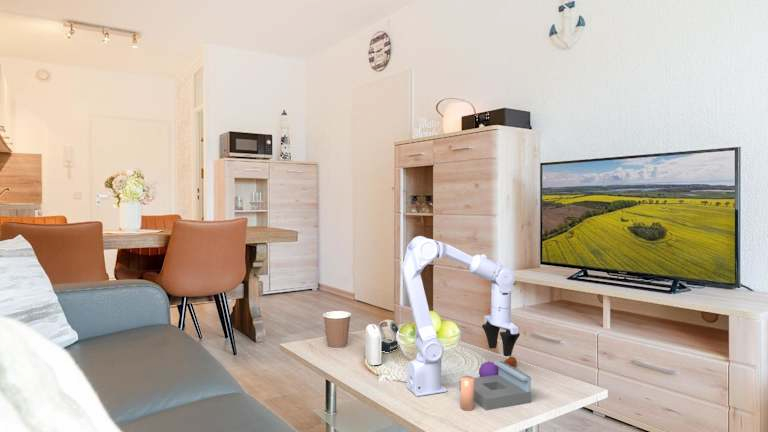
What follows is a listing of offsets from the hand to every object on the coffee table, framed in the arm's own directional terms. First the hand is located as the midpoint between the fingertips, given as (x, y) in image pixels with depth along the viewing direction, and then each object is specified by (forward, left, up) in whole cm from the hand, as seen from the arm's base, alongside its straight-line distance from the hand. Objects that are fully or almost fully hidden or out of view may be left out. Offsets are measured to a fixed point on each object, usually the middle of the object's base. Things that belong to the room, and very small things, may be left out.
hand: (499, 351), depth 149 cm
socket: (-6, -7, -10) cm, 14 cm away
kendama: (+5, +7, -10) cm, 13 cm away
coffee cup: (-35, +52, -10) cm, 64 cm away
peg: (-17, -11, -10) cm, 23 cm away
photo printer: (-28, +32, -10) cm, 44 cm away
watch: (-19, +41, -10) cm, 46 cm away
